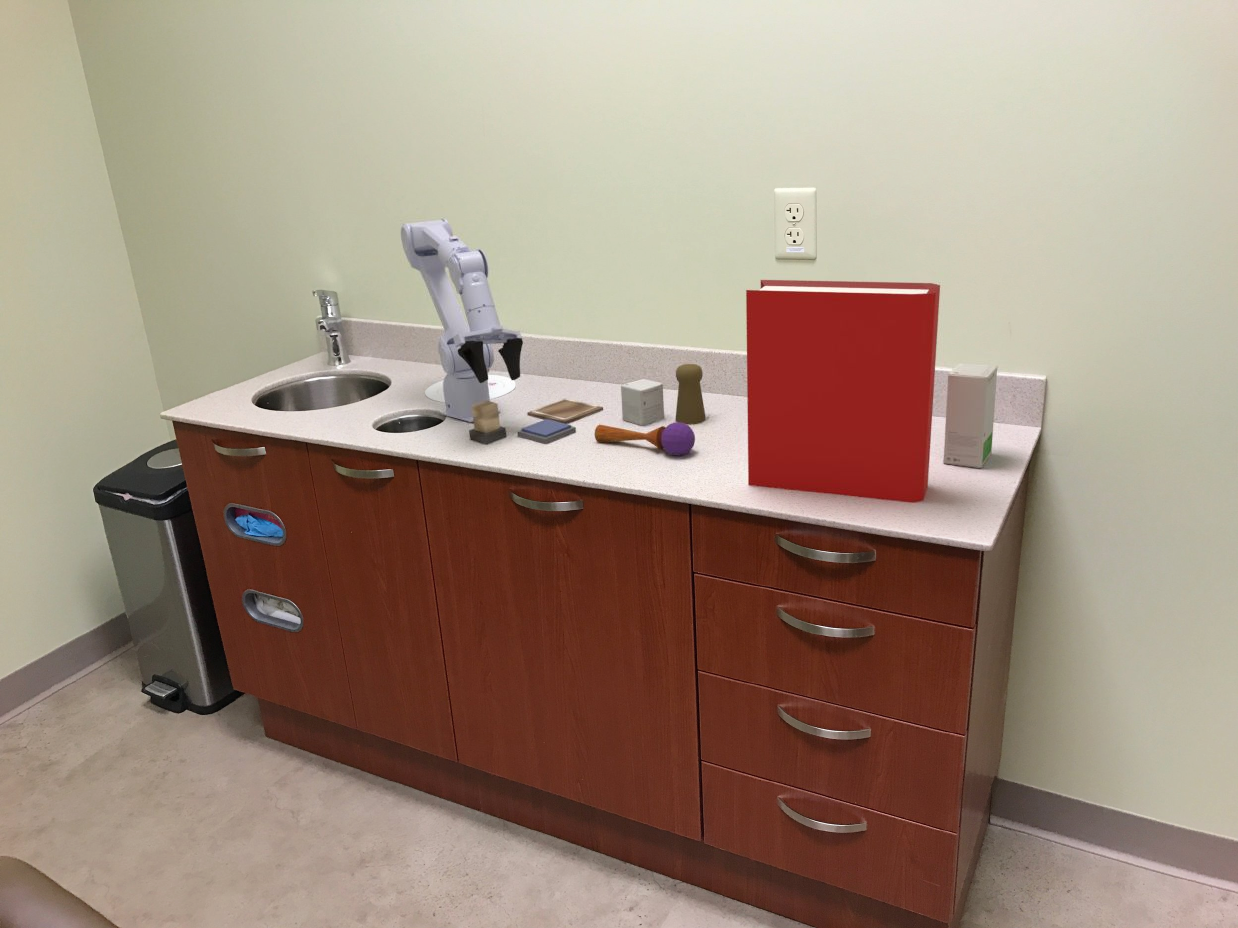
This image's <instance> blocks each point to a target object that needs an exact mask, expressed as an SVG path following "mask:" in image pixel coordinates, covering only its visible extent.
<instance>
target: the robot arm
mask: <svg viewBox="0 0 1238 928" xmlns="http://www.w3.org/2000/svg"><path fill="white" fill-rule="evenodd" d="M400 238H401V242H402V243H401V244H402V248H403V251H404V254H405V257H406V259H407V261H408V262H409V265H410V267H411V268H412V269H414V270H416V271H418V272H420V274H421V276H422V279H423V281H424V283H425V286H426V288H427V290H428V293H429V296H430V297H431V300H432V302H433V305H434V308H435V310H436V313H437V315H438V317H439V320H440V322H441V325H442V327H443V330H444V333H443V334H442V336H441V337H440V338H439V341H438V346H437V351H438V354H439V357H440V362H441V363H440V364H441V367H442V369H443V371H444V373H445V374H446V375H445V377H444V378H443V381H442V387H443V388H442V389H443V396H444V405H445V406H444V407H445V411H444V412H442V415H443V416H446V417H449V418H452V419H453V418H454V419H458V420H462V421H465V422H469V423H474V422H473V414H472V405H474V404H477V403H480V402H482V401H485V400H486V401H490V402H491V398H490V397H491V396H490V389H489V388H490V387H489V374H488V373H490V369H491V368H492V367H493V365H494V361H495V355H494V354H495V353H494V349H493V345H496V344H503V345H502V347H501V348H500V349H498V350H497V352H498V353H499V355H500V356H501V357H502V360H503V362H504V363H505V368H506V369H507V372H508V376H509V378H510V381H516V380H517V379H519V378H521V354H522V349H523V344H524V341H523V338H522V333H521V331H520V330H512V329H507V328H504V327H503V325H501V323H500V320H499V316H498V313H497V309H496V304H495V302H494V298H493V295H492V291H491V288H490V284H489V281H488V277H489V265H488V263H489V262H488V260H487V256H486V254H485V252H484V251H483V250H482V249H481V248H479V249H475V250H472V249H471V248H470V247H469V246H468V245H467V244H466V243H465V242H464V241H462V239H460V238H459V237H458V236H457V235H454V234H453V228H452V226H451V223H450V222H449V221H448V220H447V219H446V218H441V219H436V220H428V221H420V222H412V223H408V222H405V223H402V226H401V228H400ZM446 268H447V269H448V273H449V276H448V274H447V272H446ZM449 278H450V279H451V281H450V279H449ZM451 282H452V283H453V285H454V288H453V286H452V284H451ZM454 289H455V290H454ZM455 291H456V293H457V294H459V295H460V299H461V302H462V305H463V306H462V307H463V309H464V312H463V310H462V307H461V305H460V303H459V300H458V298H457V296H456V293H455ZM464 313H465V314H464ZM465 316H466V317H465ZM500 412H501V409H498V413H500Z"/></svg>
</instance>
